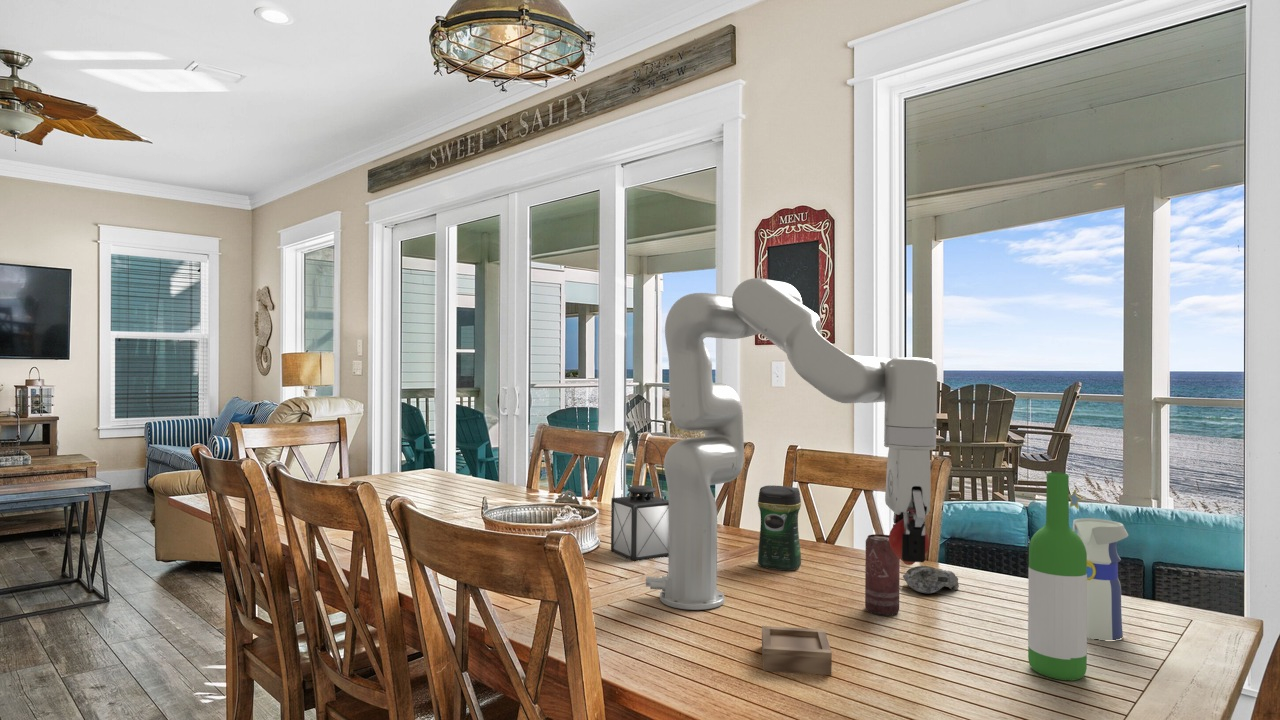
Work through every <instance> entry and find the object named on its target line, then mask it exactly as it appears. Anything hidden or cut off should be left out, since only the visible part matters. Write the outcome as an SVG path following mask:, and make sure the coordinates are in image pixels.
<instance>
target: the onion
mask: <svg viewBox="0 0 1280 720" xmlns="http://www.w3.org/2000/svg"><path fill="white" fill-rule="evenodd" d="M911 519H914V518H909V525H910V521H911ZM902 534H905V532H904V518H903V519H902V520H900V521H899V522H897V523H896V524H895V525H894V526H893V525H892V527H891V529H890V531H889V543H890V547H891V549H892V551H893V552H894V553H895V555H896V556H897V557H898V558H900V561H901V562H903V564H904V565H907V566H912V565H914V564H915V563H916V562H906V561H903V560H902ZM929 547H930V539H929V535H928V532H927V530H926V529H925V555H926V553H927V552H928V550H929Z"/></svg>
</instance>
